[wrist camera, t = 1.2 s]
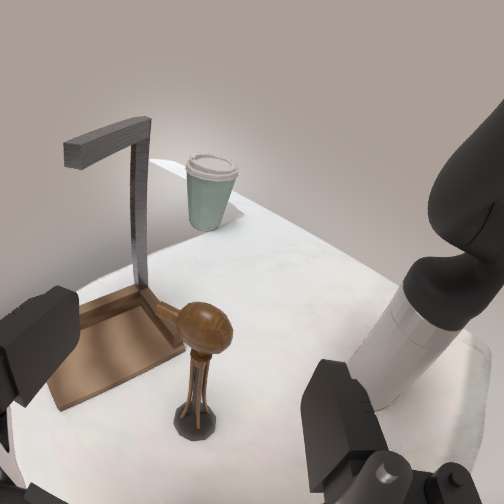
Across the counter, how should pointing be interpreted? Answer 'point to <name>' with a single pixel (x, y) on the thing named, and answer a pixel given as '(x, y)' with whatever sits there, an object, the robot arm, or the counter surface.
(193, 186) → the disposable coffee cup
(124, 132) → the stand
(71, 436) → the counter surface
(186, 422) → the wooden tabletop sculpture
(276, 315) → the counter surface
